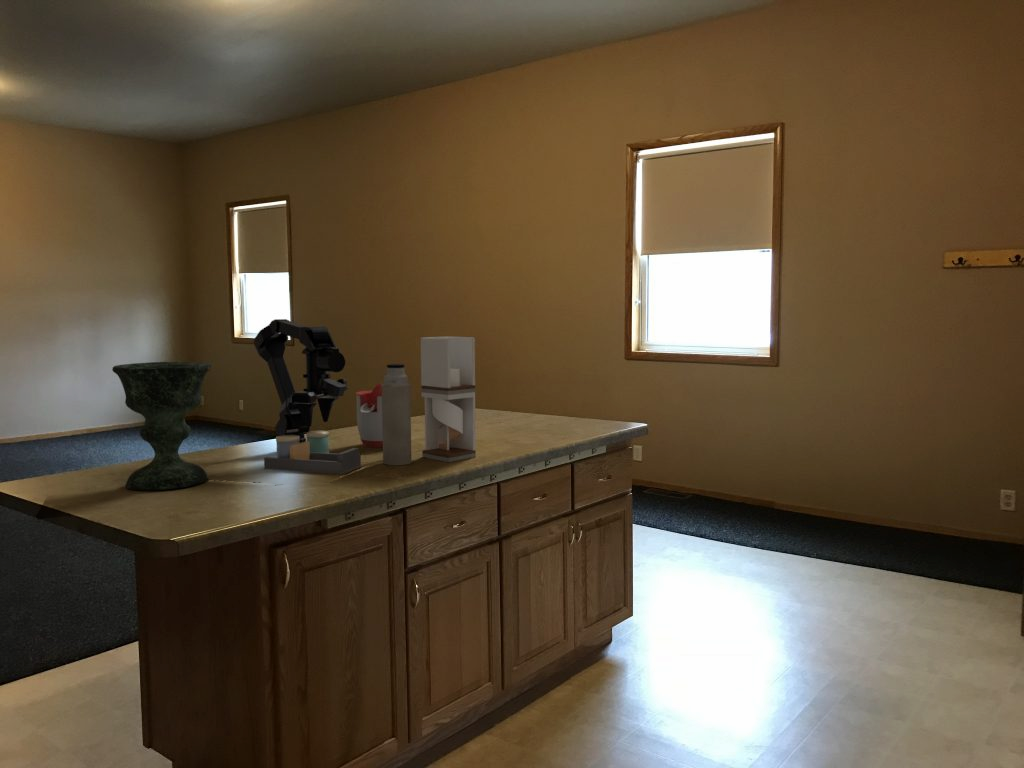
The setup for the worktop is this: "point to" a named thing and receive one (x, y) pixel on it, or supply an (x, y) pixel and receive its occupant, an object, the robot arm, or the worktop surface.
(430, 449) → the spiral ramp tower
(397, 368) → the thermos bottle
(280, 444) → the slate jar
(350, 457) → the grey open rectangular box
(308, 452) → the bar
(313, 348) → the robot arm
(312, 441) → the teal jar
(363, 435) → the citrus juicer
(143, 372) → the goblet
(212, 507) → the worktop surface
